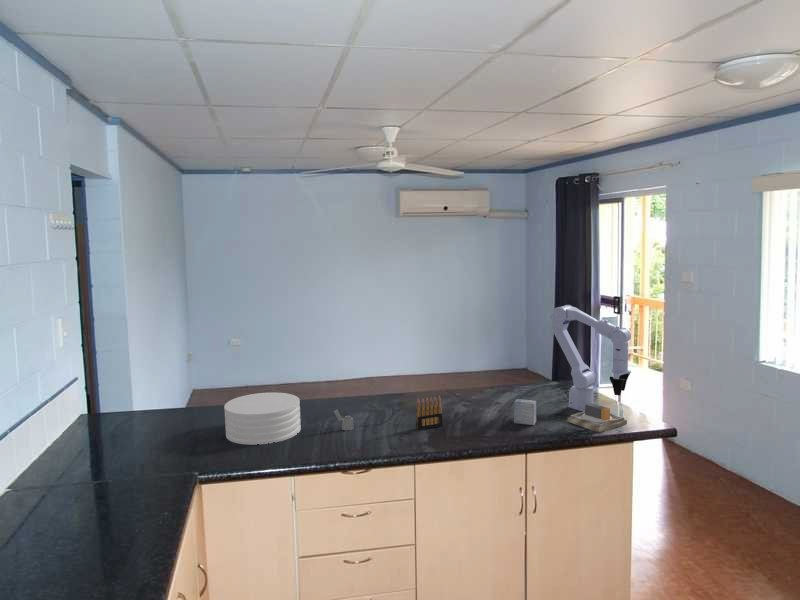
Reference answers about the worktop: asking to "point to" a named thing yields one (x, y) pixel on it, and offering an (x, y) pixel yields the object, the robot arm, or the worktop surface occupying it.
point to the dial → (597, 413)
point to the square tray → (597, 427)
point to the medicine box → (525, 411)
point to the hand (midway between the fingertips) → (619, 392)
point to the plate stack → (262, 418)
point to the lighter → (345, 421)
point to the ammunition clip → (428, 414)
